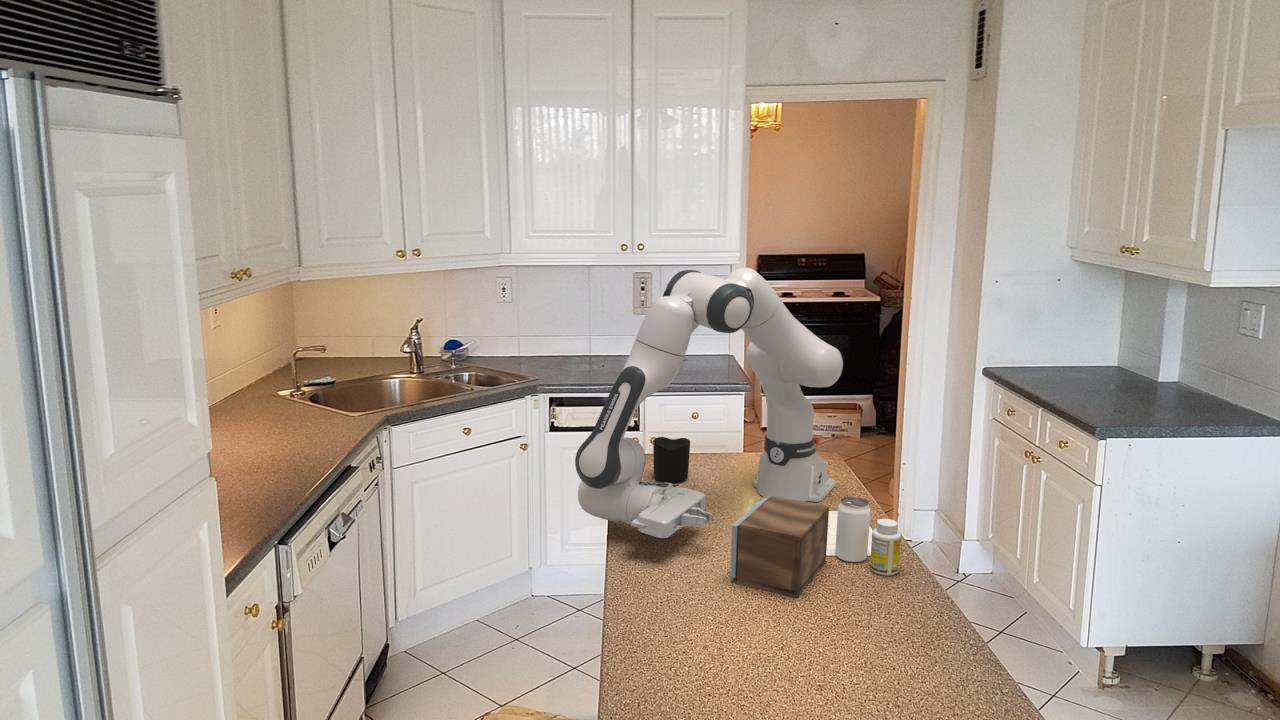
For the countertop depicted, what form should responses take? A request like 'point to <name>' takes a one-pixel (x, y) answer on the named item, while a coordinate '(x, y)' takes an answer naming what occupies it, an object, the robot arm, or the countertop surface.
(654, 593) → the countertop surface
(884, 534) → the supplement bottle
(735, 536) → the flap
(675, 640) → the countertop surface
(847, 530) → the can
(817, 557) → the crate
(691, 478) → the countertop surface
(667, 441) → the pen holder
